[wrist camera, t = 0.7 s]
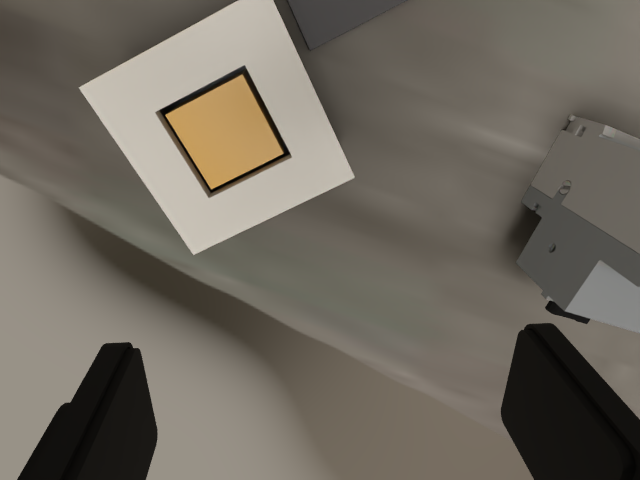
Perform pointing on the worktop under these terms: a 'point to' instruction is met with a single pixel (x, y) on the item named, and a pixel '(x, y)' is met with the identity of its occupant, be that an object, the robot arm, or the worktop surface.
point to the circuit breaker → (588, 226)
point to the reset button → (227, 129)
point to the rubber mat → (335, 16)
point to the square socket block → (197, 76)
